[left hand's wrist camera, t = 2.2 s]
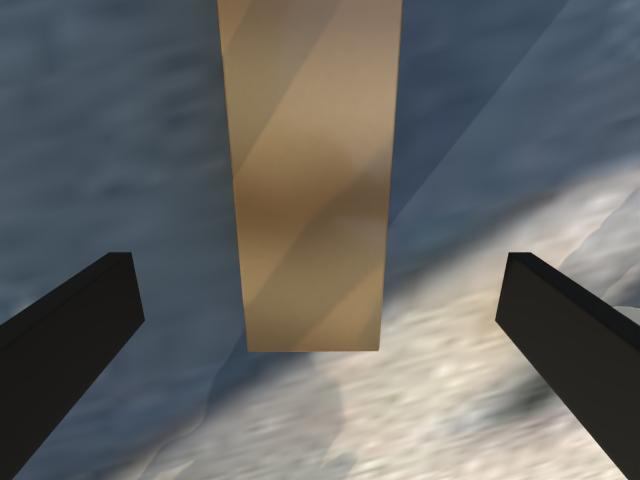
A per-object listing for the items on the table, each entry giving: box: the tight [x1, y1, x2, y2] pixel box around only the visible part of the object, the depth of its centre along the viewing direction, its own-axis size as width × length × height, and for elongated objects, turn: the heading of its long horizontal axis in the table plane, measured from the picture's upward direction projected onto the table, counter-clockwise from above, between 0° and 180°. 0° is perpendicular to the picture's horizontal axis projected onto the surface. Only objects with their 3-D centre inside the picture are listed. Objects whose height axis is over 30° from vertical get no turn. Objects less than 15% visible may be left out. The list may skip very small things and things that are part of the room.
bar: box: [217, 0, 403, 352], centre depth 14 cm, size 24×6×8 cm, turn 0°
